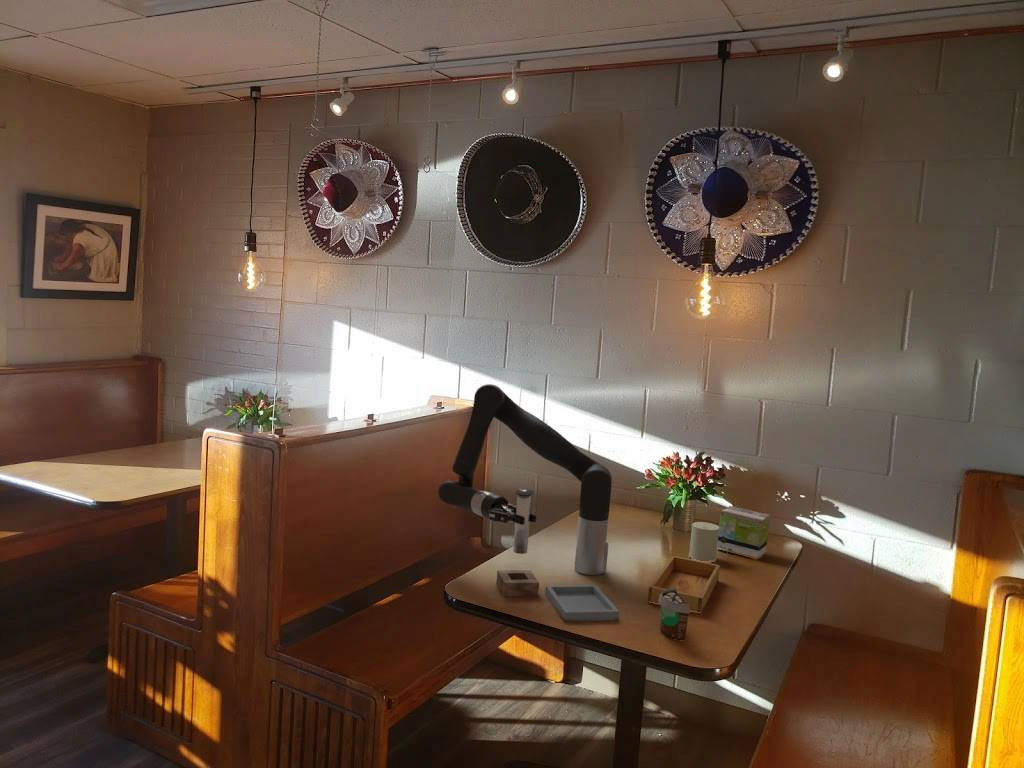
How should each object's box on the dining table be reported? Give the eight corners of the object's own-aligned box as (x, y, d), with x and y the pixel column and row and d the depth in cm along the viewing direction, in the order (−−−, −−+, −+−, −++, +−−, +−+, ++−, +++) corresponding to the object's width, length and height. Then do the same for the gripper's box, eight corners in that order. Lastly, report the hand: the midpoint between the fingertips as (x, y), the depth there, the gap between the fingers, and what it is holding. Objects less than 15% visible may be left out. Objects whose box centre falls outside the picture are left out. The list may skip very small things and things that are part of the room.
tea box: (715, 550, 278) (719, 510, 276) (724, 544, 286) (729, 504, 285) (758, 561, 270) (762, 519, 268) (766, 554, 278) (771, 513, 277)
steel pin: (526, 548, 229) (530, 488, 227) (530, 554, 224) (534, 492, 222) (510, 548, 228) (514, 488, 226) (514, 554, 223) (518, 492, 221)
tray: (700, 616, 219) (702, 596, 218) (647, 604, 225) (649, 585, 224) (718, 582, 247) (720, 565, 246) (670, 572, 253) (672, 555, 252)
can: (686, 559, 266) (689, 525, 264) (690, 552, 274) (694, 518, 273) (714, 565, 262) (717, 530, 261) (717, 557, 271) (721, 523, 269)
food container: (650, 622, 211) (653, 586, 210) (672, 623, 211) (676, 587, 210) (662, 642, 199) (666, 604, 198) (686, 643, 199) (690, 605, 198)
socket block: (529, 583, 233) (530, 570, 233) (538, 596, 224) (539, 582, 223) (496, 583, 231) (497, 570, 230) (503, 596, 221) (504, 583, 221)
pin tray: (594, 593, 229) (595, 584, 229) (618, 620, 211) (619, 611, 211) (545, 594, 226) (545, 585, 225) (564, 621, 207) (565, 612, 207)
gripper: (471, 496, 230) (512, 510, 217) (507, 490, 240) (548, 503, 227) (470, 521, 231) (510, 537, 218) (506, 514, 240) (546, 528, 228)
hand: (529, 519), depth 223 cm, fingers closed on steel pin, 4 cm apart
